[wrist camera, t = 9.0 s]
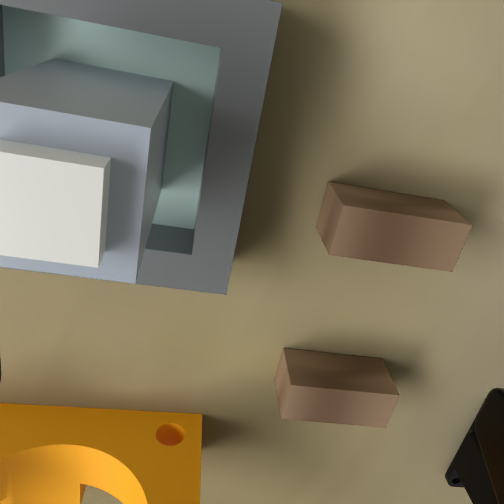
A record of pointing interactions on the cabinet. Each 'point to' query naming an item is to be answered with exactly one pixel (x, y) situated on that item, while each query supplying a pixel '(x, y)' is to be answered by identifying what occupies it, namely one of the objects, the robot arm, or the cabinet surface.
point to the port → (172, 108)
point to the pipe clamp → (98, 455)
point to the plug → (80, 168)
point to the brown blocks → (374, 249)
